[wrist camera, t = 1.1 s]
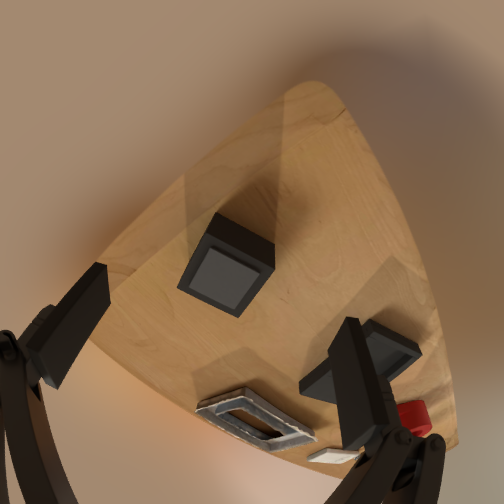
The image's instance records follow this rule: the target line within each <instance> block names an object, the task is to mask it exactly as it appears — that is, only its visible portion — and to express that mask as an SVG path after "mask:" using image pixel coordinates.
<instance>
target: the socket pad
mask: <svg viewBox="0 0 504 504" xmlns="http://www.w3.org/2000/svg"><path fill="white" fill-rule="evenodd" d="M361 327H362V330H363V333H364V336H365V339H366V342H367V345H368V348H369V351H370V354H371V358H372V361H373V364H374V367H375V371H376V374H377V375H384V376H385V377H386V379H387V380H388V381H389V382H391V381H392V380H393V379H394V378H396V377H397V376H398V375H400V374H401V373H402V372H403V371H404V370H406V369H407V368H408V367H409V366H410V365H412V364H413V363H414V362H415V361H416V360H417V359H419V358H420V357H421V356H422V352H421V350H420V348H419V346H418V344H417V343H415V342H413V341H411V340H409V339H407V338H405V337H404V336H402V335H400V334H398V333H396V332H394V331H392V330H390V329H388V328H386V327H384V326H383V325H381V324H379V323H377V322H375V321H373V320H371V319H368V320H367V321H366V322H365V323H364V324H363V325H362V326H361ZM299 392H300V394H301V395H304V396H307V397H311V398H314V399H318V400H321V401H325V402H329V403H333V404H336V405H337V402H336V396H335V390H334V384H333V378H332V372H331V366H330V360H329V357H328V358H327V359H326V360H325V361H323V362H322V363H321V364H320V365H319V366H318V367H316V368H315V369H314V370H313V371H312V372H310V373H309V374H308V375H307V376H306V377H304V378H303V379H302V380H301V381H299Z"/></svg>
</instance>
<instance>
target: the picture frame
mask: <svg viewBox="0 0 504 504" xmlns="http://www.w3.org/2000/svg"><path fill="white" fill-rule="evenodd" d="M233 409H238V410H239V409H242V410H243V411H247V412H248V413H249V415H253V416H255V417H256V418H257V419H260V421H264V422H265V423H266V424H268V426H271V427H272V428H274V430H277V431H280V432H281V434H283V435H285V436H282V437H278V438H272V437H270V436H268V435H266V434H264V433H262V432H260V431H258V430H257V429H255V428H253V427H251V426H250V425H248V424H246V423H244V422H243V421H241V420H239V419H237V418H236V417H234V416H232V415H231V414H229V413H228V412H227V411H231V410H233ZM194 412H195V413H196V414H198V415H199V416H202V417H203V418H204V419H205V420H208V422H210V423H212V424H214V425H216V426H217V427H219V428H220V429H222V430H225V431H226V432H227V433H229V434H231V435H233V436H235V437H236V438H240V439H242V440H243V441H245V442H247V443H250V444H251V445H253V446H255V447H258V448H260V449H262V450H265V451H267V452H270V453H272V452H277V451H283V450H287V449H290V448H295V447H298V446H301V445H307V444H309V443H313V442H316V441H319V440H317V438H316V437H315V432H314V431H313V430H311V429H309V428H308V427H306V426H304V425H303V424H301V423H299V422H297V421H296V420H294V419H292V418H291V417H289V416H288V415H286V414H284V413H283V412H281V411H280V410H278V409H277V408H276V407H274V406H272V405H271V404H270V403H268V402H267V401H265V400H264V399H262V398H261V397H260V396H259V395H257V394H255V393H254V392H253V391H252V390H250V389H249V388H247V387H244V388H240V389H237V390H235V391H233V392H229V393H225V394H223V395H220V396H217V397H214V398H211V399H208V400H204V401H201V402H199V403H198V404H197V408H196V411H194Z"/></svg>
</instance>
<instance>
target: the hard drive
mask: <svg viewBox="0 0 504 504" xmlns="http://www.w3.org/2000/svg"><path fill="white" fill-rule="evenodd" d="M358 455H360V454H359V451H350V450H348V451H343V450H339V449H330V448H325V449H323V450H320V451H318V452H316V453H314V454H312V455H310V456H308V457H307V461H312V462H323V463H337V464H341V463H343V462H346V461H348V460H350V459H352V458H354V457H356V456H358Z"/></svg>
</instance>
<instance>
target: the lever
mask: <svg viewBox="0 0 504 504" xmlns="http://www.w3.org/2000/svg"><path fill="white" fill-rule="evenodd" d="M397 409H398V412H399V416H400V420H401V423H402V426H404V427H406V428H408V429H409V430H410V431H411V433H412V435H414V436H418V437H422V436H424V435H425V434H427V433H428V432H429V431H430V430H431V429H432V424H431V421H430V418H429V415H428V412H427V409H426V406H425V403H424V401H422V400H416V401H411V402H407V403H403V404H399V405H397Z"/></svg>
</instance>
